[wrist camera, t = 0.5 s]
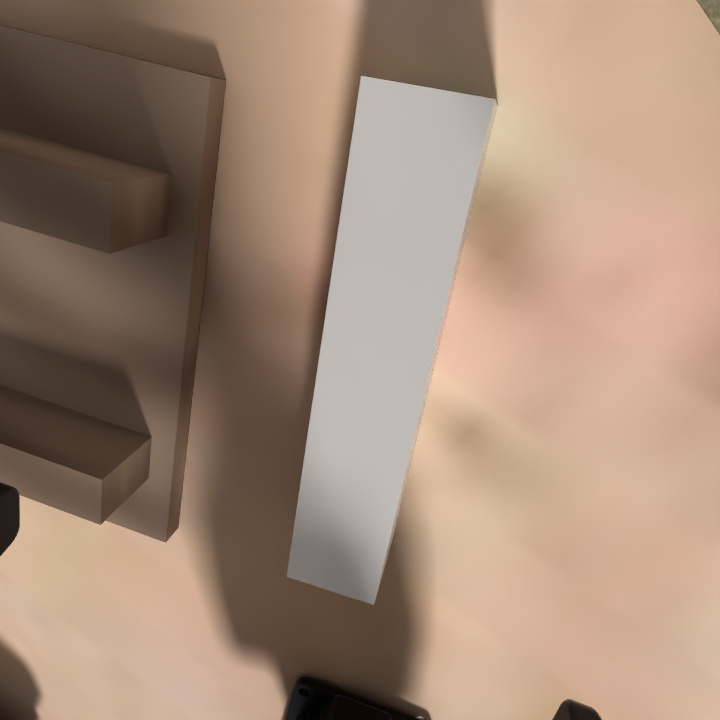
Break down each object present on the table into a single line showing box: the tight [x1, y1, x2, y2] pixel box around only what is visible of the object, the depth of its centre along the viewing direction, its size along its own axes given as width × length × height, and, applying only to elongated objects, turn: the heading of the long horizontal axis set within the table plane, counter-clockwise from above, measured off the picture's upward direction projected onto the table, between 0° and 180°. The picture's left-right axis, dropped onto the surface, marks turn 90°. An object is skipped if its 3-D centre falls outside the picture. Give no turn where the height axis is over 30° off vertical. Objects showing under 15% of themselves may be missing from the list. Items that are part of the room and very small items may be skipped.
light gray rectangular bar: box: [287, 76, 498, 605], centre depth 18 cm, size 16×3×4 cm, turn 170°
